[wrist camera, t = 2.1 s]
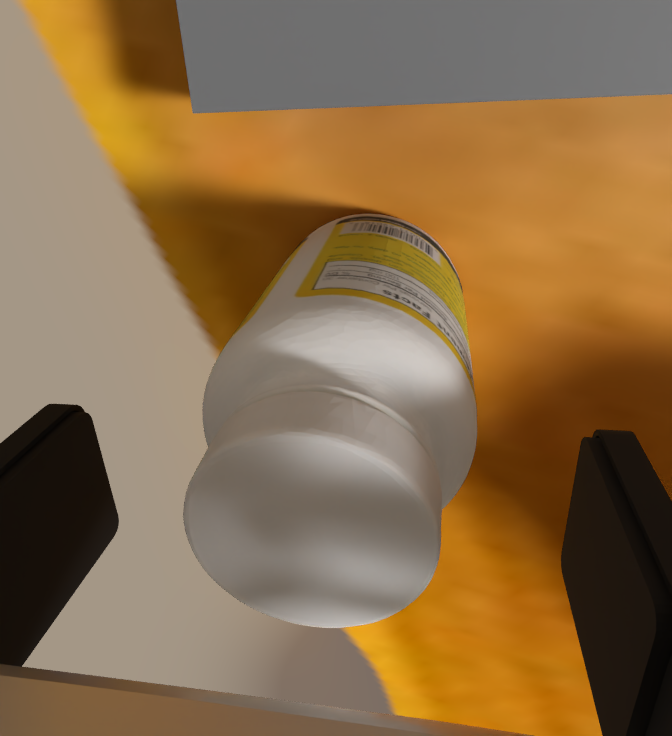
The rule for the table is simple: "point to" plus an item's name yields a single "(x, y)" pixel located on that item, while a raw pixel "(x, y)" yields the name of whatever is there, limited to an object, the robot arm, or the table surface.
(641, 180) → the table surface
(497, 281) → the table surface
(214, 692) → the robot arm
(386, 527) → the supplement bottle
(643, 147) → the table surface
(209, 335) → the table surface
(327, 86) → the slate base block
